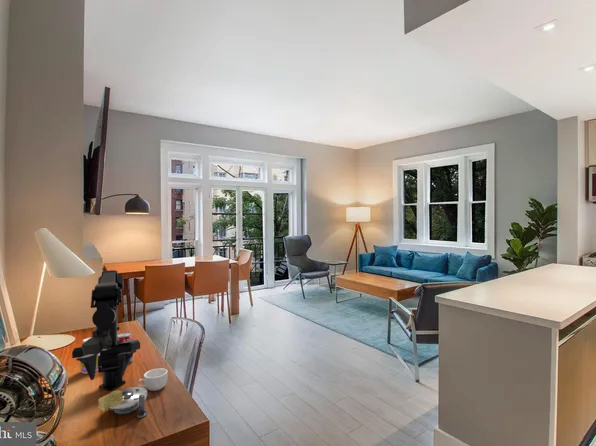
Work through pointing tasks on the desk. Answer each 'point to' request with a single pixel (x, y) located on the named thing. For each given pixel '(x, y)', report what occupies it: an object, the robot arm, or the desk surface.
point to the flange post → (126, 411)
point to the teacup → (154, 379)
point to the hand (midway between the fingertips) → (107, 378)
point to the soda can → (126, 337)
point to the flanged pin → (141, 407)
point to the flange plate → (122, 399)
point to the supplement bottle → (83, 369)
